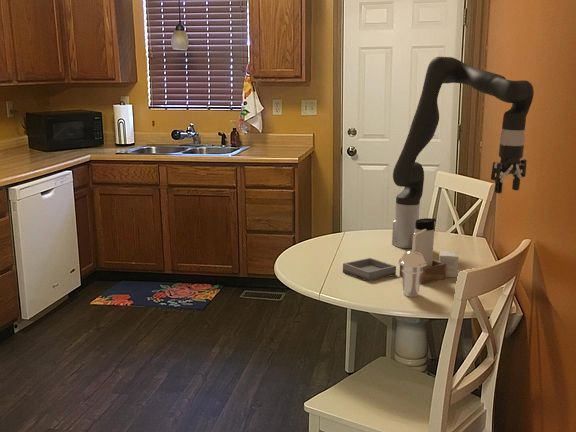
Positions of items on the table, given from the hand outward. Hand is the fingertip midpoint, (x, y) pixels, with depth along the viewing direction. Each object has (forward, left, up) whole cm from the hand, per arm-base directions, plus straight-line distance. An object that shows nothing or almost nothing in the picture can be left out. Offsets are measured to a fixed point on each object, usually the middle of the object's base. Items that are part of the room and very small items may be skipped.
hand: (506, 191), depth 209 cm
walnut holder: (-12, -25, -28) cm, 40 cm away
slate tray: (-25, -37, -28) cm, 53 cm away
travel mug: (-12, -25, -29) cm, 40 cm away
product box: (-10, -16, -29) cm, 34 cm away
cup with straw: (-2, -41, -29) cm, 50 cm away
